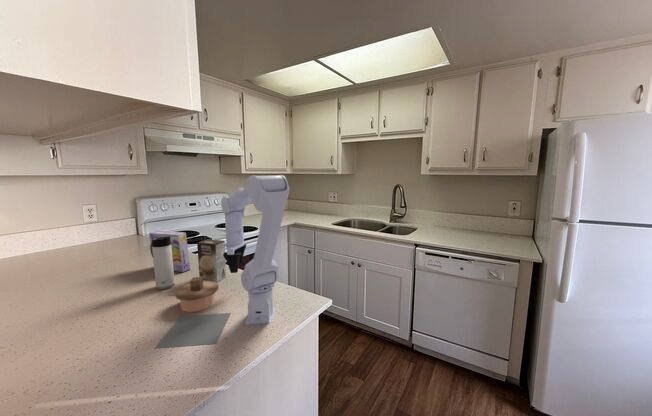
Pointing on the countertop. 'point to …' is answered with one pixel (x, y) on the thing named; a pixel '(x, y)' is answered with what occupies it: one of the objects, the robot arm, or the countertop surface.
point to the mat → (195, 330)
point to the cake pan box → (175, 248)
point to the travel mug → (163, 263)
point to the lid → (196, 289)
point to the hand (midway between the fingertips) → (236, 268)
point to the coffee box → (211, 260)
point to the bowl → (197, 304)
